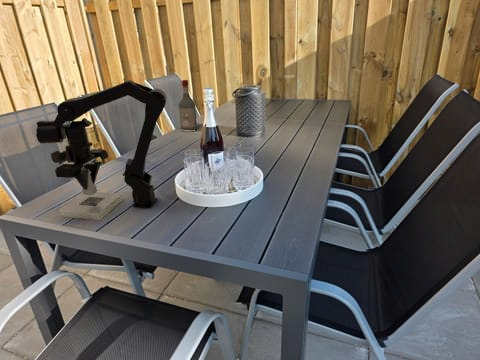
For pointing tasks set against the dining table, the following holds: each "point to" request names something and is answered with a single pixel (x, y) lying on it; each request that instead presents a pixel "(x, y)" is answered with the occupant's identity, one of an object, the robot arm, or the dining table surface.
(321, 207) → the dining table surface
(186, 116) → the liquor
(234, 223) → the dining table surface
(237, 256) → the dining table surface
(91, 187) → the rook chess piece
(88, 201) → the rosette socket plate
